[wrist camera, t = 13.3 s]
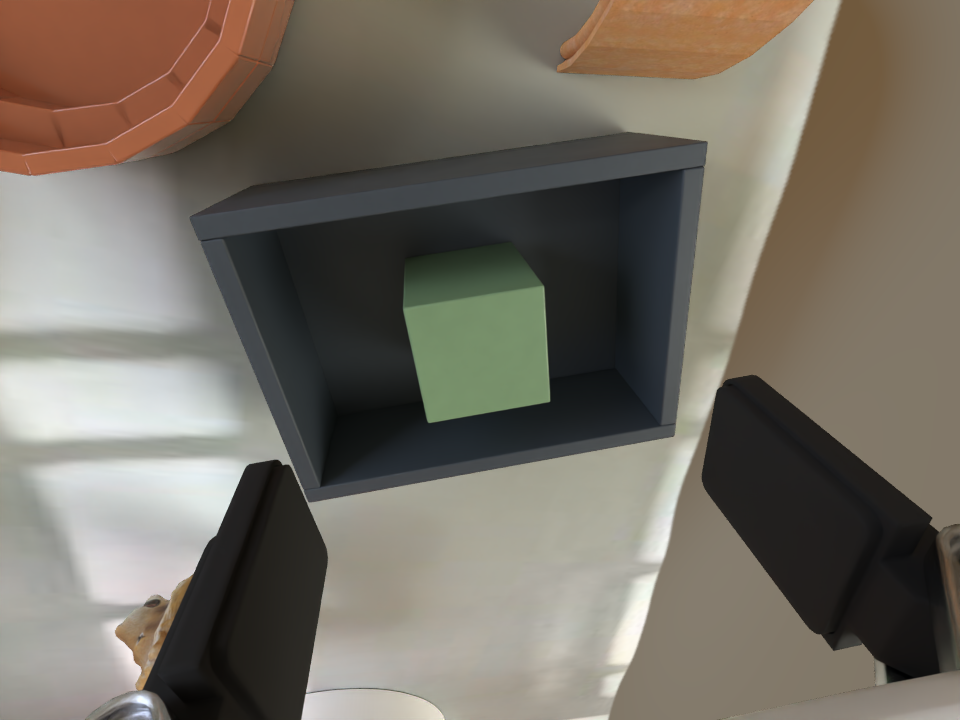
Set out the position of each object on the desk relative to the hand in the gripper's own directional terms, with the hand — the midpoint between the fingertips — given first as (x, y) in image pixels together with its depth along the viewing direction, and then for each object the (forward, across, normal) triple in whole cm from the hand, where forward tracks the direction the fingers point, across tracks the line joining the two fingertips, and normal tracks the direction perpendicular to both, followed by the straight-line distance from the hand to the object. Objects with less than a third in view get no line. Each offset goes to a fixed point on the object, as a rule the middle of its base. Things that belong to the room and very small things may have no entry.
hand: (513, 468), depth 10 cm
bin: (+13, 0, +1) cm, 13 cm away
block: (+12, 0, +1) cm, 12 cm away
